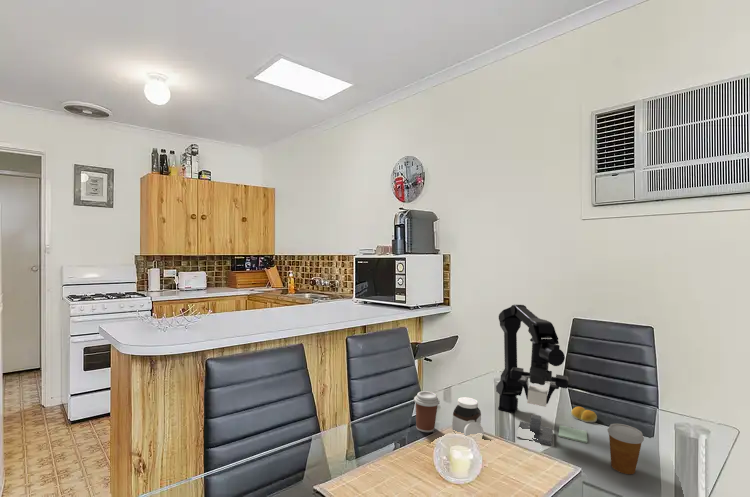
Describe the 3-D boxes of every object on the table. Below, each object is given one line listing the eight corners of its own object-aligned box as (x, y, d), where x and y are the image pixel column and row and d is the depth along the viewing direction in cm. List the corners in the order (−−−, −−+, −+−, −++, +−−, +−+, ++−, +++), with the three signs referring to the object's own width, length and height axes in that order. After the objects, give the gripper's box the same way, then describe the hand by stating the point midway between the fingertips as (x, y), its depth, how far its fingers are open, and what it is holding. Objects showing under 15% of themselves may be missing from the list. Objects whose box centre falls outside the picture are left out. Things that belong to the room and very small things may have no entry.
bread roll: (592, 425, 157) (592, 414, 157) (568, 416, 164) (568, 406, 164) (600, 420, 163) (601, 410, 163) (577, 412, 170) (577, 402, 169)
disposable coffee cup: (598, 460, 131) (601, 422, 131) (627, 460, 132) (629, 423, 131) (618, 477, 121) (621, 437, 121) (649, 477, 122) (652, 437, 122)
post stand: (516, 437, 143) (517, 418, 143) (520, 425, 153) (521, 407, 153) (550, 445, 139) (552, 426, 139) (552, 432, 149) (553, 414, 148)
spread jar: (464, 426, 150) (466, 394, 150) (492, 437, 142) (494, 404, 142) (444, 435, 142) (446, 402, 142) (473, 449, 134) (475, 413, 134)
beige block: (527, 403, 144) (528, 390, 144) (529, 397, 150) (529, 385, 150) (545, 406, 142) (546, 393, 142) (547, 401, 147) (547, 388, 147)
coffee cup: (407, 427, 147) (409, 393, 146) (422, 420, 153) (424, 388, 153) (428, 436, 140) (430, 401, 140) (443, 428, 147) (445, 395, 147)
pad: (558, 436, 146) (558, 434, 146) (559, 426, 154) (559, 425, 154) (587, 443, 142) (587, 441, 142) (586, 432, 150) (586, 431, 150)
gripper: (509, 358, 142) (506, 403, 143) (569, 368, 134) (566, 415, 134) (513, 351, 152) (510, 393, 153) (569, 359, 144) (566, 404, 144)
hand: (537, 401), depth 146 cm, fingers closed on beige block, 6 cm apart
